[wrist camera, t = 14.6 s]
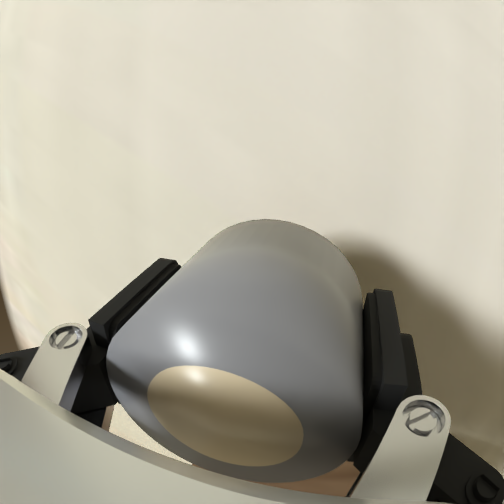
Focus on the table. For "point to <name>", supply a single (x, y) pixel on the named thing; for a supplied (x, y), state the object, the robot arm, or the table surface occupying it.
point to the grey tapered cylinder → (250, 356)
